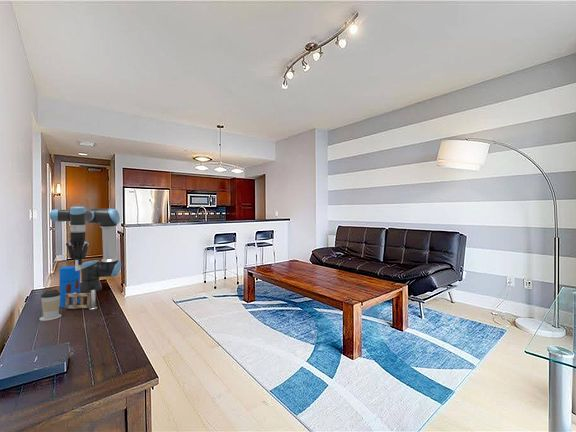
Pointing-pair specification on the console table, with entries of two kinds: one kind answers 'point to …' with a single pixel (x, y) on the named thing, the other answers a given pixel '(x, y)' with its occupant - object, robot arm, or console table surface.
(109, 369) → the console table surface
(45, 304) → the coffee cup
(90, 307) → the hinge post
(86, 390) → the console table surface
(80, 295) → the gate
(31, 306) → the console table surface
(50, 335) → the console table surface
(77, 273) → the thermos
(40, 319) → the coaster
